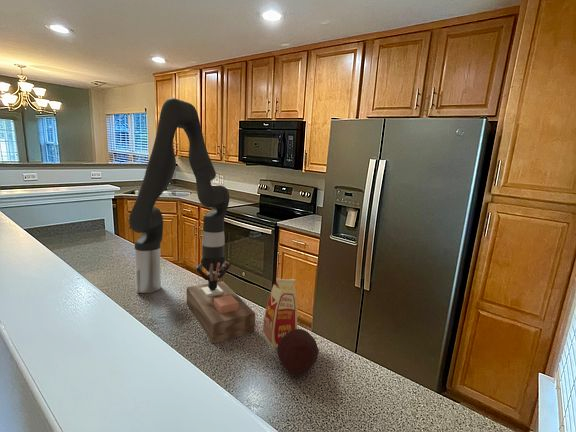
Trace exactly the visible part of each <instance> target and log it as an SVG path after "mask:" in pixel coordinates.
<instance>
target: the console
mask: <svg viewBox="0 0 576 432" xmlns="http://www.w3.org/2000/svg"><path fill="white" fill-rule="evenodd" d="M217 285H218V286H219V287H220V288H221V289H222V290H223V294H221V295H216V296H211V297H205V295H204V294H203V293H202V292H201V288H202V287H208V283H205V284H198V285H194V286H193V285H192V286H187V287H186V305H187V307H188V309H189V310H190V311H191V313H192V314H193V316H194V317H195V319H196V320H197V322H198V324H199V325H200V327H201V329H202V330H203V331H204V333H205V334H206V336H207V338H208V339H209V341H210V342H211V344H215V343H219V342H222V341H227V340H230V339H234V338H237V337H241V336H245V335H248V334H252V333H255V331H256V328H255V327H256V315H257V313H256V312H255V311H254V310H253V309H252V308H251V307H250V306H249V305H248V304H247V303H246V302H245V301H244V300H243V299H241V297H240V296H239V295H238V294H237V293H235V291H234V290H233V289H232V288H231V287H230V286H229V285H228V284H227V283H225V282H224V281H223V280H222V281H217ZM229 295H232V296H233V298H234V299H235V300H236V301H237V302H238V310H237V311H232V312H228V313H224V314H219V313H218V312H217V310H216V309H215V308H214V298H219V297H224V296H229Z"/></svg>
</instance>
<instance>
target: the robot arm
mask: <svg viewBox="0 0 576 432" xmlns="http://www.w3.org/2000/svg"><path fill="white" fill-rule="evenodd" d="M177 128H178V129H183V131H184V133H185V135H186V137H187V139H188V143H189V146H188V147H189V148H188V161H189V165H190V169H191V171H192V173H193V175H194V178H195V183H196V184H195V186H196V193H197V198H198V201H199V203H200V204H201V205H202V206H203V207H205V208H210V209H211V210H210V211H209V212H207V213H206V214H204V216H203V223H202V224H203V225H202V230H203V231H202V238H201V245H202V248H201V249H202V250H201V251H202V252H201V259H200V263H199V264H197V265H195V266H194V269H195V270H196V272H197V273H198V274H199V275H200V276H201V277H202V278H203V279H204V280H205V281H207V284H208V287H209V289H210V290H211V291H212V290H216V288H217V282H218V280H219V279H222V278H223V277H224V276H225V274H226V273H227V271H228V270H229V269H230V267H231V263H230V262H229V261H227V260H226V259H225V241H226V240H225V239H226V238H225V218H226V215H227V211H228V209H229V203H230V192H229V190H228V188H227V187H226V186H224V185H212V182H211V181H213V180H214V179H215V178H216V177H217V173H216V170H215V166H214V164H213V162H212V160H211V157H210V155H209V153H208V149H207V147H206V143H205V139H204V134H203V130H202V127H201V121H200V118H199V114H198V111H197V109H196V107H195V106H194V104H192V103H190V102H187V101H184V100H181V99H179V98H176V97H170V98H167V99H166V100H165V101H164V103H163V105H162V106H161V109H160V113H159V119H158V124H157V129H156V134H155V137H154V143H153V146H152V150H151V154H150V157H149V158H148V162H147V164H146V169H145V172H144V173H145V174H144V177H143V179H142V183H141V185H140V189H139V192H138V194H137V197H136V199H135V202H134V204H133V207H131V208H132V209H131V210H130V214H129V217H128V224H129V227H130V229H131V231H133V232H134V233H136V234H140V235H139V237H138V238H137V239H135V241H134V267H133V268H134V269H133V270H134V288H135V292H136V294H150V293H155V292H158V291H159V290H161V288H162V280H161V279H162V276H161V273H162V270H161V267H162V266H161V263H162V262H161V243H162V241H163V235H164V217H163V213H162V211H161V210H160V209H159V208H158V207H156V206H155V204H156V202H158V201H157V200H158V199H159V198H160V196H162V194H163V193H164V192H165V191H166V189H168V187H169V186H170V183H171V182H172V180H173V177H174V174H175V170H176V167H177V160H176V155H175V149H174V139H175V135H176V131H177ZM204 269H205V270H206V273H207V274H206V273H204V272H203V270H204Z"/></svg>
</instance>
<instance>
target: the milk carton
mask: <svg viewBox="0 0 576 432" xmlns="http://www.w3.org/2000/svg"><path fill="white" fill-rule="evenodd" d="M275 279H276V282H274V283H273V285H272V287H271V290H270V294H269V297H268V299H267V304H266V309H265V312H264V317H263V323H262V324H263V326H262V333H263V335H264V337H265V339H266V340H267V342H268V343H269V344H270V346H271V347H272V349H274V348H276V349H277V347H278V344H279V342H280V341H281V340H282V338H283V337H284V336H285V335H286V334H287V333H289V332H290V331H291V330H294V329H298V305H297V304H298V303H297V292H296V286H295V282H297V280H296V279H293V278H292V279H284V278H279V277H278V278H275Z"/></svg>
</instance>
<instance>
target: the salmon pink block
mask: <svg viewBox="0 0 576 432" xmlns="http://www.w3.org/2000/svg"><path fill="white" fill-rule="evenodd" d="M214 308H215V309H216V310H217V312H218V313H219V314H224V313H228V312H232V311H237V310H238V302H237V301H236V300H235V299H234V298H233V296H232V295H229V296H224V297H219V298H214Z"/></svg>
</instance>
